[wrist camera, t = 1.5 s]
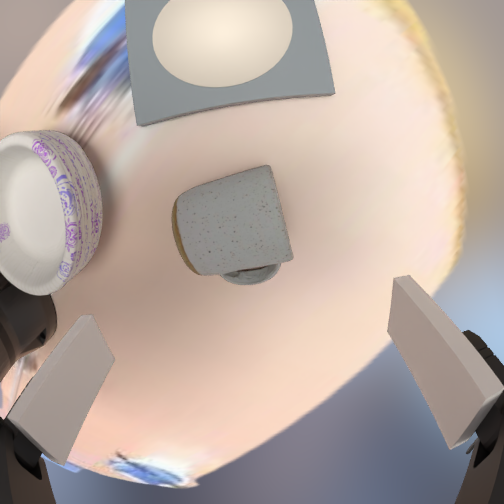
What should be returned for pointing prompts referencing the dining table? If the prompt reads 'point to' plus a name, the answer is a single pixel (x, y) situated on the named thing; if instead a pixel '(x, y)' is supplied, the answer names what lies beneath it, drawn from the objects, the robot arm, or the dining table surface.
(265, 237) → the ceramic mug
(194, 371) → the dining table surface
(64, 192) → the paper bowls
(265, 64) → the board
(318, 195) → the dining table surface
